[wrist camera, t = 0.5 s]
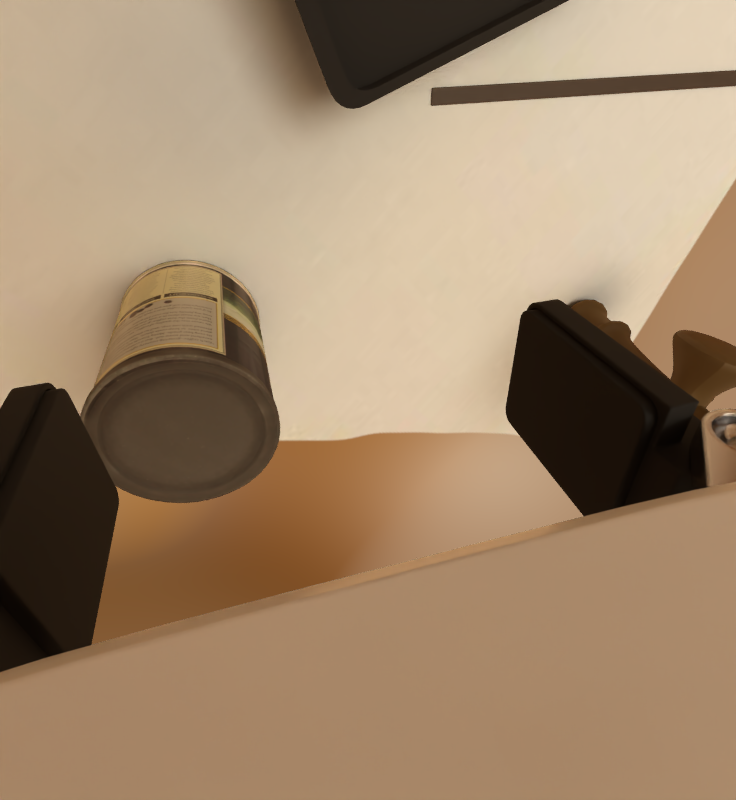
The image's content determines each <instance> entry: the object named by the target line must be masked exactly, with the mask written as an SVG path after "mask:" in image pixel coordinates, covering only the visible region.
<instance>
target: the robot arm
mask: <svg viewBox="0 0 736 800" xmlns="http://www.w3.org/2000/svg"><path fill="white" fill-rule="evenodd" d="M698 403H699V401H698V400H696V399H695V398H694V397H692V396H691V395H690V394H688V393H687V392H685V391H684V390H683V389H681V388H680V387H679V386H677V385H676V384H674V383H673V382H672V381H670V380H669V379H668V378H666V377H665V376H663V375H662V374H661V373H659V372H658V371H657V370H655V369H654V368H652V367H651V366H650V365H648V364H647V363H646V362H644V361H643V360H641V359H640V358H639V357H637V356H636V355H635V354H633V353H632V352H630V351H629V350H628V349H626V348H625V347H624V346H622V345H621V344H620V343H618V342H617V341H615V340H614V339H613V338H611V337H610V336H609V335H607V334H606V333H604V332H603V331H602V330H600V329H599V328H598V327H596V326H595V325H593V324H592V323H591V322H589V321H588V320H587V319H585V318H584V317H582V316H581V315H580V314H578V313H577V312H576V311H574V310H573V309H571V308H570V307H569V306H567V305H566V304H565V303H563V302H562V301H560V300H558V299H557V300H549V301H543V302H537V303H532V304H531V305H530V306H529V307H528V309H527V311H524V312H523V313H522V315H521V318H520V324H519V330H518V336H517V342H516V349H515V355H514V361H513V367H512V373H511V379H510V385H509V391H508V397H507V403H506V415H507V418H508V421H509V422H510V424H511V425H512V426H513V428H514V429H515V430H516V431H517V433H518V434H519V435H520V437H521V438H522V439H523V440H524V442H525V443H526V444H527V445H528V446H529V448H530V449H531V450H532V451H533V453H534V454H535V455H536V456H537V458H538V459H539V460H540V462H541V463H542V464H543V465H544V467H545V468H546V469H547V470H548V472H549V473H550V474H551V476H552V477H553V478H554V479H555V481H556V482H557V483H558V484H559V485H560V487H561V488H562V489H563V491H564V492H565V493H566V494H567V495H568V497H569V498H570V499H571V501H572V502H573V503H574V504H575V506H576V507H577V508H578V509H579V510H580V512H581V513H582V514H583V517H580V518H575V519H571V520H567V521H563V522H559V523H555V524H552V525H548V526H544V527H540V528H536V529H532V530H528V531H524V532H520V533H516V534H512V535H508V536H504V537H500V538H496V539H492V540H488V541H484V542H480V543H476V544H472V545H469V546H465V547H461V548H457V549H453V550H449V551H445V552H441V553H437V554H433V555H430V556H426V557H422V558H418V559H414V560H410V561H406V562H403V563H399V564H395V565H391V566H387V567H383V568H379V569H376V570H372V571H368V572H364V573H360V574H356V575H352V576H349V577H345V578H340V579H337V580H333V581H329V582H325V583H321V584H317V585H314V586H310V587H306V588H302V589H299V590H295V591H291V592H287V593H283V594H280V595H276V596H272V597H268V598H264V599H260V600H257V601H253V602H249V603H245V604H241V605H237V606H234V607H230V608H226V609H222V610H219V611H215V612H211V613H207V614H203V615H199V616H196V617H192V618H188V619H184V620H180V621H177V622H173V623H169V624H166V625H161V626H158V627H154V628H151V629H147V630H143V631H140V632H136V633H133V634H129V635H125V636H122V637H118V638H115V639H111V640H108V641H104V642H101V643H97V644H93V645H91V644H92V639H93V633H94V628H95V623H96V618H97V613H98V608H99V603H100V598H101V593H102V587H103V582H104V577H105V572H106V567H107V562H108V557H109V552H110V547H111V541H112V537H113V532H114V526H115V521H116V516H117V511H118V505H119V498H118V492H117V489H116V487H115V485H114V483H113V481H112V479H111V477H110V475H109V473H108V471H107V469H106V467H105V465H104V463H103V461H102V459H101V457H100V455H99V453H98V451H97V449H96V447H95V445H94V443H93V441H92V439H91V437H90V435H89V433H88V431H87V429H86V427H85V426H84V424H83V422H82V420H81V418H80V416H79V414H78V412H77V410H76V408H75V406H74V404H73V402H72V400H71V398H70V396H69V394H68V393H67V391H66V390H65V389H62V388H61V389H56V388H55V387H54V386H53V385H52V384H50V383H43V384H37V385H31V386H25V387H19V388H14V389H12V390H11V391H10V393H9V394H8V396H7V398H6V400H5V401H4V403H3V405H2V407H1V408H0V800H736V409H718V410H714V411H711V412H708V413H707V414H706V415H705V416H704V417H703V418H702V420H700V419H698V418H697V417H696V416H694V415H693V414H694V412H695V410H696V408H697V406H698Z"/></svg>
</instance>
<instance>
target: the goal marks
mask: <svg viewBox="0 0 736 800" xmlns="http://www.w3.org/2000/svg"><path fill="white" fill-rule="evenodd" d="M724 86H736V70H735V71H718V72H701V73H684V74H666V75H649V76H632V77H615V78H598V79H580V80H563V81H546V82H529V83H512V84H494V85H477V86H460V87H443V88H432V102H431V105H432V106H433V105H448V104H463V103H479V102H494V101H509V100H525V99H540V98H555V97H570V96H586V95H601V94H616V93H632V92H647V91H662V90H678V89H693V88H708V87H724Z"/></svg>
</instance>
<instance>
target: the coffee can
mask: <svg viewBox="0 0 736 800" xmlns="http://www.w3.org/2000/svg"><path fill="white" fill-rule="evenodd" d="M80 418H81V420H82V422H83V424H84V426H85V427H86V429H87V431H88V433H89V435H90V437H91V439H92V441H93V443H94V445H95V447H96V449H97V451H98V453H99V455H100V457H101V459H102V461H103V463H104V465H105V467H106V469H107V471H108V473H109V475H110V477H111V479H112V481H113V483H114V485H115V486H117V487H119V488H120V489H122V490H124V491H127V492H129V493H131V494H133V495H136V496H139V497H143V498H146V499H150V500H155V501H162V502H172V503H190V502H199V501H203V500H209V499H212V498H217V497H220V496H223V495H225V494H228V493H230V492H232V491H234V490H237V489H239V488H240V487H242V486H244V485H246V484H247V483H249V482H250V481H251V480H253V479H254V478H255V477H256V476H257V475H258V474H260V473H261V472H262V470H263V469H264V468H265V467H266V466H267V464H268V463H269V461H270V460H271V458H272V457H273V454H274V452H275V450H276V448H277V445H278V442H279V436H280V421H279V415H278V411H277V407H276V405H275V402H274V399H273V395H272V389H271V384H270V378H269V373H268V368H267V363H266V358H265V352H264V346H263V341H262V336H261V330H260V320H259V314H258V310H257V306H256V304H255V302H254V300H253V298H252V296H251V295H250V293H249V292H248V290H247V289H246V288H245V287H244V286H243V284H242V283H241V282H240V281H238V280H237V279H236V278H235V277H233V276H232V275H231V274H229V273H228V272H226V271H224V270H222V269H221V268H218V267H216V266H214V265H210V264H207V263H203V262H198V261H184V260H182V261H172V262H167V263H162V264H159V265H157V266H155V267H153V268H151V269H149V270H147V271H145V272H144V273H142V274H141V275H140V276H139V277H137V278H136V279H135V281H134V282H133V283H132V284H131V285H130V286H129V288H128V289H127V291H126V293H125V295H124V297H123V299H122V302H121V308H120V313H119V316H118V318H117V321H116V324H115V327H114V330H113V333H112V336H111V338H110V341H109V344H108V347H107V350H106V353H105V356H104V359H103V362H102V365H101V367H100V370H99V373H98V376H97V379H96V382H95V385H94V388H93V389H92V391H91V392H90V394H89V395H88V397H87V399H86V401H85V404H84V406H83V409H82V412H81V416H80Z"/></svg>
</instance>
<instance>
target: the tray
mask: <svg viewBox="0 0 736 800" xmlns="http://www.w3.org/2000/svg"><path fill="white" fill-rule="evenodd" d="M566 1H568V0H295V2H296V5H297V7H298V10H299V13H300V15H301V18H302V20H303V23H304V26H305V28H306V31H307V34H308V36H309V39H310V42H311V44H312V47H313V49H314V52H315V55H316V57H317V60H318V63H319V65H320V68H321V70H322V73H323V76H324V78H325V81H326V84H327V86H328V88H329V90H330V93H331V95H332V96H333V97H334V99H335V100H336V101H337V102H338V103H339V104H340V105H341V106H343V107H346V108H351V109H354V108H360V107H362V106H365V105H367V104H369V103H371V102H373V101H375V100H377V99H379V98H381V97H383V96H385V95H386V94H388V93H390V92H392V91H394V90H396V89H398V88H400V87H402V86H404V85H406V84H408V83H410V82H412V81H414V80H415V79H417V78H419V77H421V76H423V75H425V74H427V73H429V72H431V71H433V70H435V69H437V68H439V67H441V66H443V65H445V64H446V63H448V62H450V61H452V60H454V59H456V58H458V57H460V56H462V55H464V54H466V53H468V52H470V51H472V50H474V49H475V48H477V47H479V46H481V45H483V44H485V43H487V42H489V41H491V40H493V39H495V38H497V37H499V36H501V35H503V34H504V33H506V32H508V31H510V30H512V29H514V28H516V27H518V26H520V25H522V24H524V23H526V22H528V21H530V20H532V19H534V18H535V17H537V16H539V15H541V14H543V13H545V12H547V11H549V10H551V9H553V8H555V7H557V6H559V5H561V4H563V3H564V2H566Z"/></svg>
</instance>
